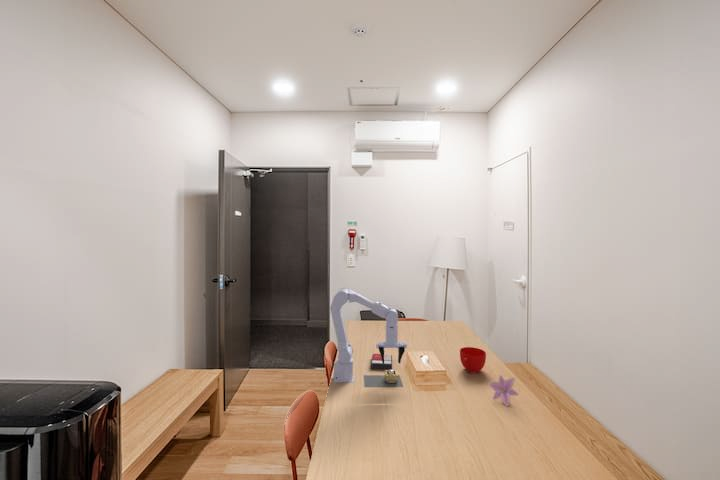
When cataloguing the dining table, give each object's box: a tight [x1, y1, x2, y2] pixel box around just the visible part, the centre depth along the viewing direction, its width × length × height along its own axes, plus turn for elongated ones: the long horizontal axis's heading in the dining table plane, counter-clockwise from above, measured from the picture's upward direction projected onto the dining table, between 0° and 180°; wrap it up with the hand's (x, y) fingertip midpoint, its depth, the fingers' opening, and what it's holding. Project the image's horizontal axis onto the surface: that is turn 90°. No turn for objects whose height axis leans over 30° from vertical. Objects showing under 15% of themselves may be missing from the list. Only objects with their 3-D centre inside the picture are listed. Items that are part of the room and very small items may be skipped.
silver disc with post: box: [384, 368, 398, 384], centre depth 154 cm, size 6×6×5 cm
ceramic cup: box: [459, 346, 487, 374], centre depth 166 cm, size 13×17×10 cm
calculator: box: [370, 353, 393, 371], centre depth 174 cm, size 11×4×15 cm
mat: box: [363, 374, 404, 388], centre depth 154 cm, size 18×12×1 cm, turn 92°
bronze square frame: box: [384, 369, 399, 382], centre depth 154 cm, size 6×6×3 cm
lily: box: [487, 374, 519, 407], centre depth 139 cm, size 12×12×10 cm
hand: (391, 362), depth 154 cm, fingers open, 7 cm apart
